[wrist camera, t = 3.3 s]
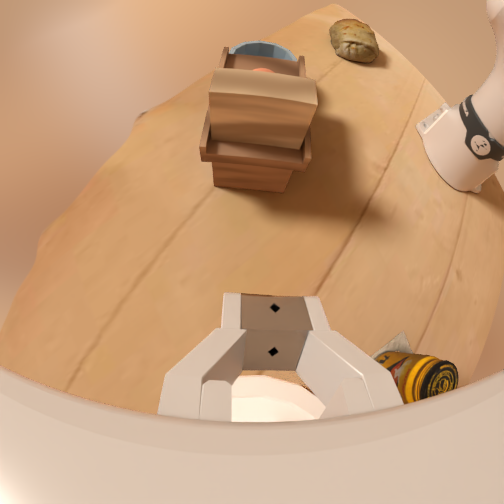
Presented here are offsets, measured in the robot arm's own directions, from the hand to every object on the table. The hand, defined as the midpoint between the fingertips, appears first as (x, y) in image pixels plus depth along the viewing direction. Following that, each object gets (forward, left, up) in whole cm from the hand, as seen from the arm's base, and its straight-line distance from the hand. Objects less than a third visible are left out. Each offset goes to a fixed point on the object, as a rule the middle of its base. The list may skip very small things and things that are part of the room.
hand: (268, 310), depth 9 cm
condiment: (-7, +21, -23) cm, 32 cm away
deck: (-19, -15, -23) cm, 33 cm away
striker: (-15, -11, -14) cm, 23 cm away
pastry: (-58, -19, -23) cm, 65 cm away
